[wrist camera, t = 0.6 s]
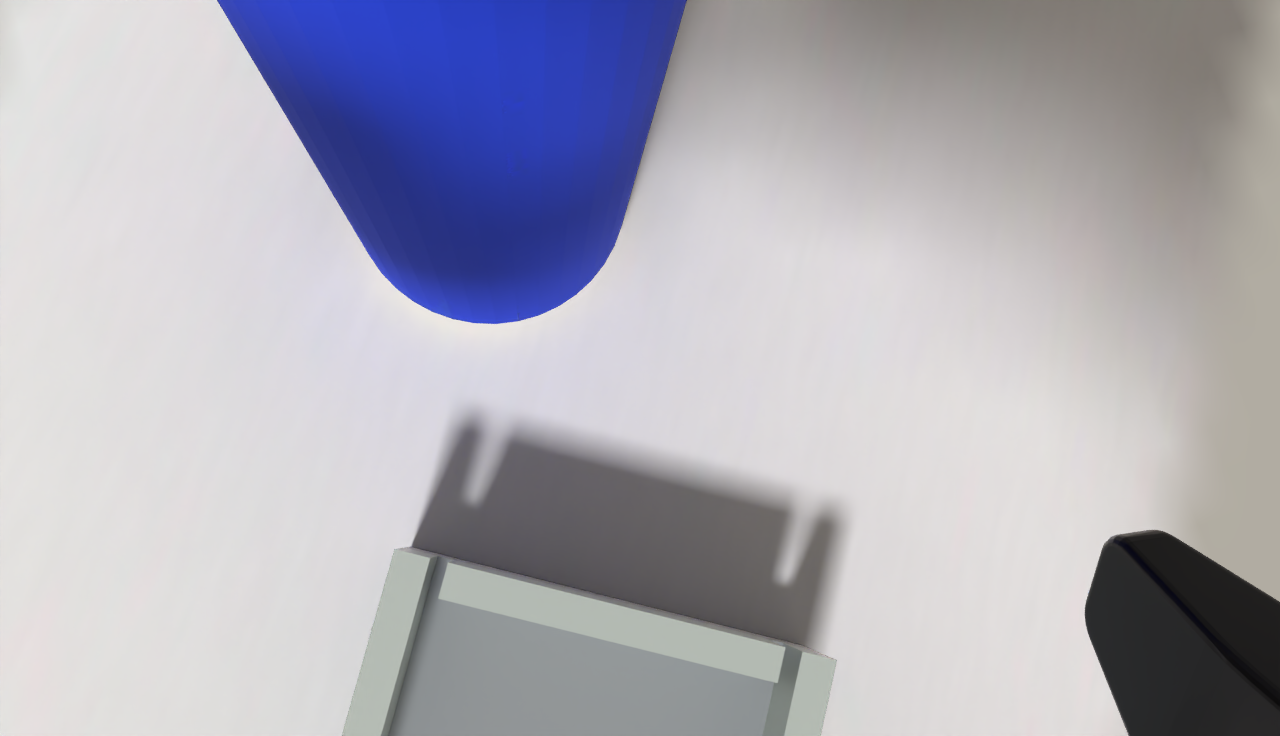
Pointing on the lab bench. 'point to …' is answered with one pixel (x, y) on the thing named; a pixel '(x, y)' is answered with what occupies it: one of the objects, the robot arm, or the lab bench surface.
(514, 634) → the can holder
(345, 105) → the beverage can
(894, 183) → the lab bench surface
